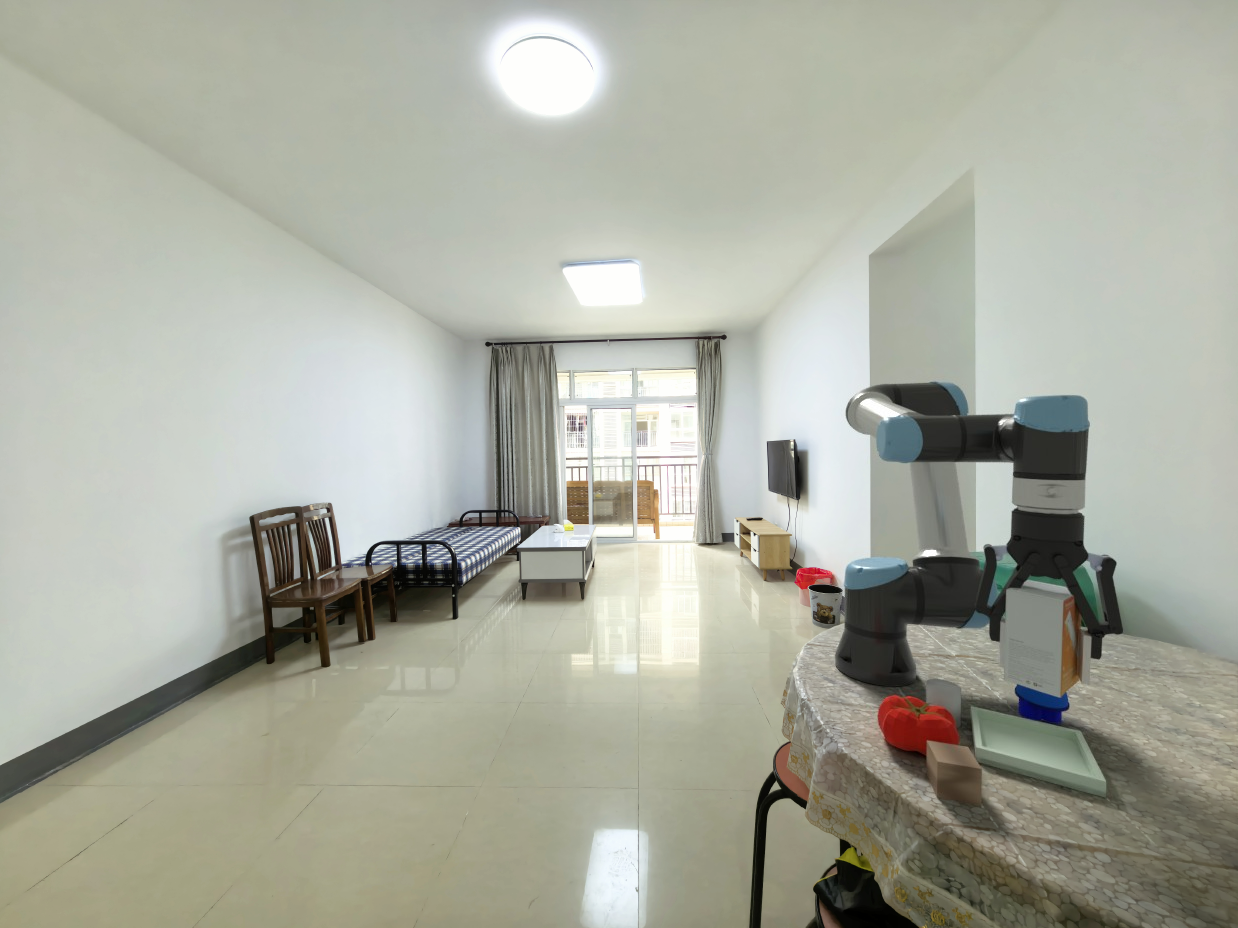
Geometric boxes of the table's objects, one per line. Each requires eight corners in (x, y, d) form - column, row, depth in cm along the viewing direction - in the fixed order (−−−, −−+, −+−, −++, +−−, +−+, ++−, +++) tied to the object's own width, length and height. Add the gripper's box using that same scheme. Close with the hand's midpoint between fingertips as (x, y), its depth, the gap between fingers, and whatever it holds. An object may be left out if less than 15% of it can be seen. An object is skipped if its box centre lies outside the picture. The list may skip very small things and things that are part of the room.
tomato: (961, 775, 70) (961, 730, 69) (874, 751, 75) (875, 709, 75) (957, 741, 78) (957, 700, 78) (879, 721, 84) (879, 683, 83)
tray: (975, 761, 73) (975, 746, 72) (970, 718, 84) (970, 705, 84) (1106, 797, 65) (1106, 781, 65) (1080, 744, 77) (1080, 731, 76)
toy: (1056, 705, 88) (1057, 623, 88) (1085, 733, 80) (1087, 642, 79) (997, 697, 91) (998, 618, 91) (1019, 723, 83) (1020, 635, 82)
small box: (1061, 699, 63) (1064, 600, 62) (1002, 680, 68) (1004, 588, 68) (1080, 681, 68) (1083, 588, 67) (1023, 664, 73) (1025, 578, 72)
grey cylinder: (925, 722, 83) (925, 687, 83) (926, 709, 87) (926, 676, 87) (961, 731, 80) (961, 695, 80) (960, 717, 85) (960, 683, 84)
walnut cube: (936, 798, 65) (937, 761, 65) (926, 774, 70) (926, 740, 70) (981, 806, 63) (981, 768, 63) (967, 781, 68) (967, 746, 68)
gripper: (955, 507, 70) (951, 663, 71) (1167, 519, 58) (1158, 706, 59) (954, 501, 76) (951, 644, 77) (1146, 511, 64) (1138, 680, 65)
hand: (1041, 671), depth 68 cm, fingers closed on small box, 8 cm apart
